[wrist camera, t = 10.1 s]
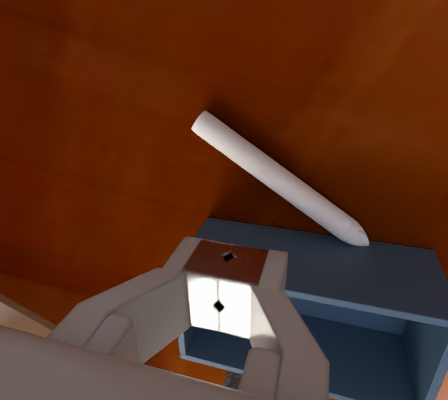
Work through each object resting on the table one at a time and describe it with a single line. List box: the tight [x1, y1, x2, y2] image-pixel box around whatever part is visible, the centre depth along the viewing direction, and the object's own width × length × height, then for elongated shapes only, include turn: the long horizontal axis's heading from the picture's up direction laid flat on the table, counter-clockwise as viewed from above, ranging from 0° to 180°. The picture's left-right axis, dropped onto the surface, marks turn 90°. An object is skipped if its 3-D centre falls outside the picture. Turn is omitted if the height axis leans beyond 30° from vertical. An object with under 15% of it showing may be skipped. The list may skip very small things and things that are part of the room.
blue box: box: [178, 218, 448, 400], centre depth 30 cm, size 10×20×8 cm, turn 91°
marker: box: [192, 111, 369, 246], centre depth 29 cm, size 18×2×2 cm, turn 58°
